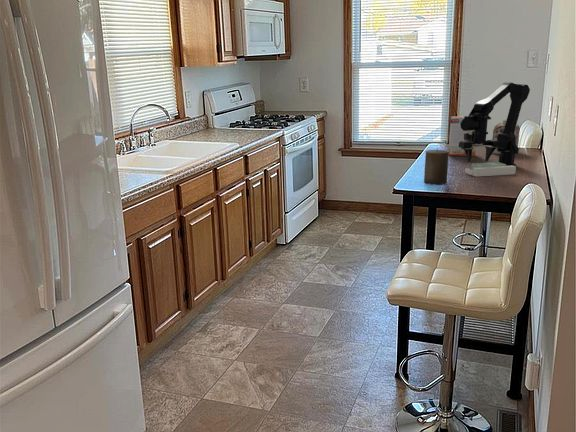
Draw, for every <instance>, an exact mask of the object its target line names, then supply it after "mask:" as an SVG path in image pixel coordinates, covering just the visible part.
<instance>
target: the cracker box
mask: <svg viewBox="0 0 576 432" xmlns="http://www.w3.org/2000/svg"><path fill="white" fill-rule="evenodd" d="M464 116H465V115H462V116H458V115H457V116H456V115H455V116H454V115H453V116H451V117H450V122H449V123H450V127H449V138H448V152H449V155H448V156H450V157H451V156H454V157H455V156H456V157H458V156H459V157H467V156H466V153H465V151H464V150H463V149H461V147H459V142H460V141H467V140H464V134H465V133H469V135H471V134H472V132H473V131H474V130H469V131H463V130H462V129H461V125H460V124H461V121H462V120H463V119H464ZM476 148H477V146H472V147H471V149H472V155H471V157H475V156H476V151H477V150H476Z"/></svg>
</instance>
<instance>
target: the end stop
mask: <svg viewBox="0 0 576 432" xmlns="http://www.w3.org/2000/svg"><path fill="white" fill-rule="evenodd" d="M516 169H517V166H516V165H511V166H495V167H477V168H473V170H471V168H466V167H465V169H464V173H465V174H467V175H470V176H474V177H477V178H478V177H489V176H490V177H492V176H508V175H516Z"/></svg>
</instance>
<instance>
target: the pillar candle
mask: <svg viewBox="0 0 576 432" xmlns="http://www.w3.org/2000/svg"><path fill="white" fill-rule="evenodd" d="M449 156H450V155H449V150H444V149H439V148H438V147H437V148H436V149H428V150H425V156H424V157H425V161H424V174H423V175H424V177H423V183H425V184H429V185H436V186H437V185H439V186H440V185H445V184H447V183H448V168H449V167H448V166H449Z"/></svg>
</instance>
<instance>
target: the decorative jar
mask: <svg viewBox="0 0 576 432" xmlns="http://www.w3.org/2000/svg"><path fill="white" fill-rule="evenodd" d="M506 120H507V119H504V120H502V122H500V123H496V124H495V125H494V127H493V129H492V130H493V131H492V137H491V138H492V139H491V140H497V137H498V134H501V133H502V132H503V131H504V128H505V124H506ZM520 128H521V127H520V125H519V124H516V128H515V132H514V134H515V137H516V142H515V144H516V145H517V147H518V148H519V141H520V131H521V129H520ZM492 154H494V155H500V152H498V149H495V150H494V152H493V153H492ZM492 154H491V155H492Z"/></svg>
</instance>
